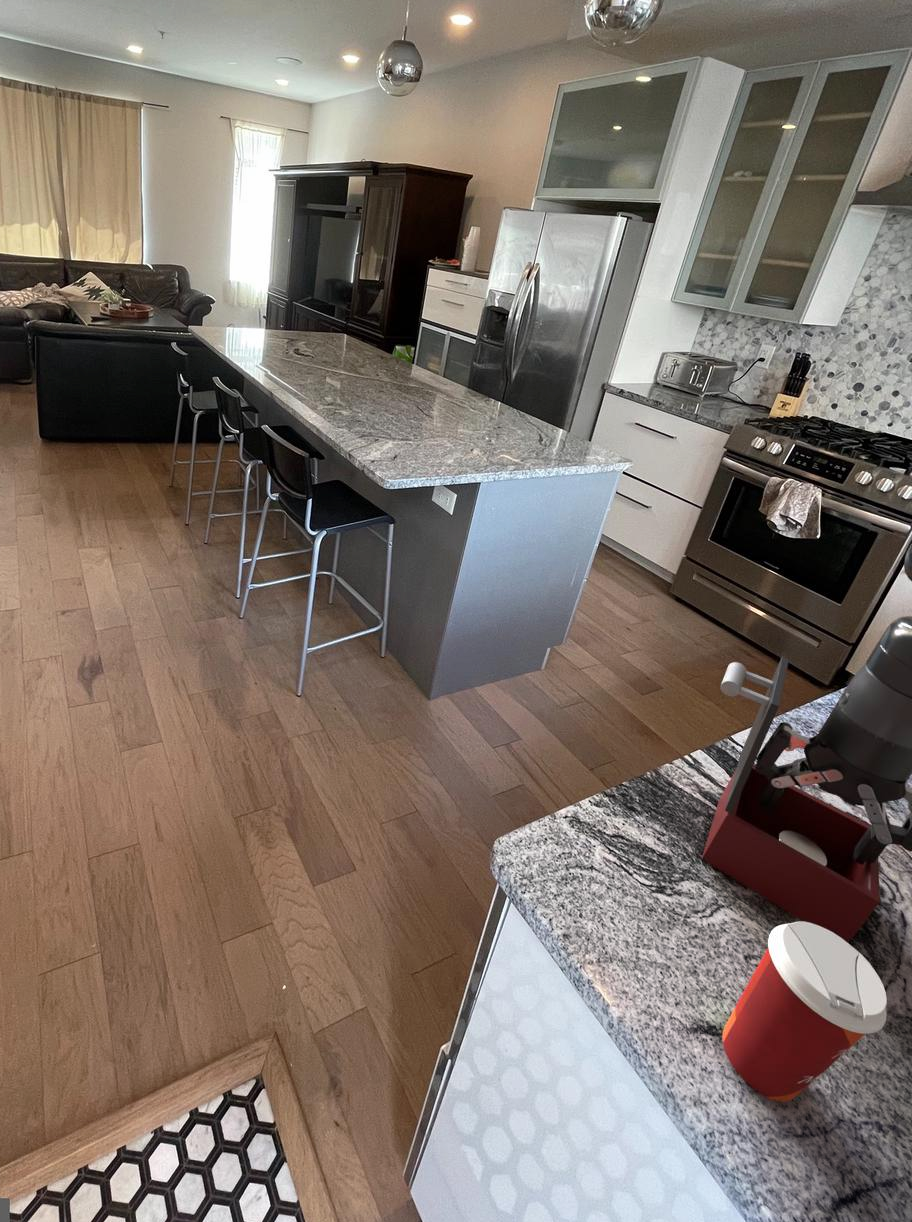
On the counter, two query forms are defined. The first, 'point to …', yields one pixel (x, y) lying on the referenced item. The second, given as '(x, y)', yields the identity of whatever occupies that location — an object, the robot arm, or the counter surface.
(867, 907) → the box
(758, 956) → the counter surface
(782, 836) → the cylinder
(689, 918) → the counter surface
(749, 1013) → the paper cup
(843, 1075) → the counter surface
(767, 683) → the lid
